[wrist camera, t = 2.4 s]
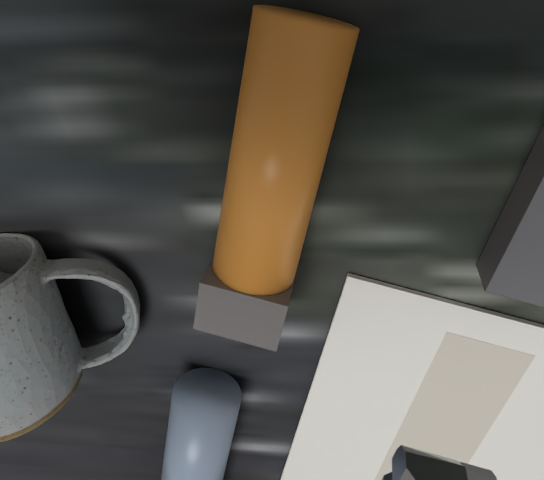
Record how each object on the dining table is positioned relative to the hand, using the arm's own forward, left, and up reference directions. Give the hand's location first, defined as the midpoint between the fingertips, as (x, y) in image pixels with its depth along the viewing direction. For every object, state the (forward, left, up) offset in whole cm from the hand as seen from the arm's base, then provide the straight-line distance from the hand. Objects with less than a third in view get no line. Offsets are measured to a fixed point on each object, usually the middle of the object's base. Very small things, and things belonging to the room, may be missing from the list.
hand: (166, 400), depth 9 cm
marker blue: (+19, -1, -13) cm, 23 cm away
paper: (+13, +11, -13) cm, 21 cm away
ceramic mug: (+10, -11, -14) cm, 20 cm away
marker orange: (+1, 0, -13) cm, 13 cm away
